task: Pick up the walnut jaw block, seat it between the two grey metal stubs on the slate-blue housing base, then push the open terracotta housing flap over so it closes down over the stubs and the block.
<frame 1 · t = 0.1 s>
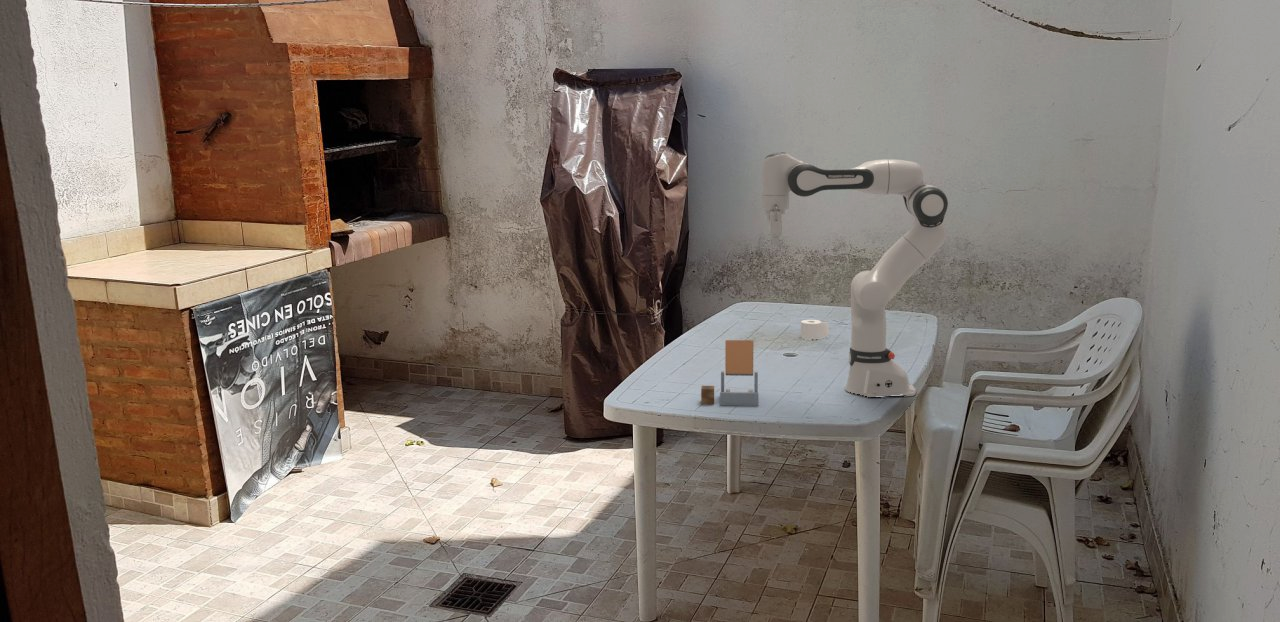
hand: (774, 246, 317), 48 cm above the table, tool pointing down, fingers open, 8 cm apart
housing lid: (739, 357, 317), point 13 cm above the table, hinge at 100.0°
jaw block: (707, 402, 313), on the table
housing base: (739, 400, 314), on the table
toilet paper: (815, 338, 400), on the table
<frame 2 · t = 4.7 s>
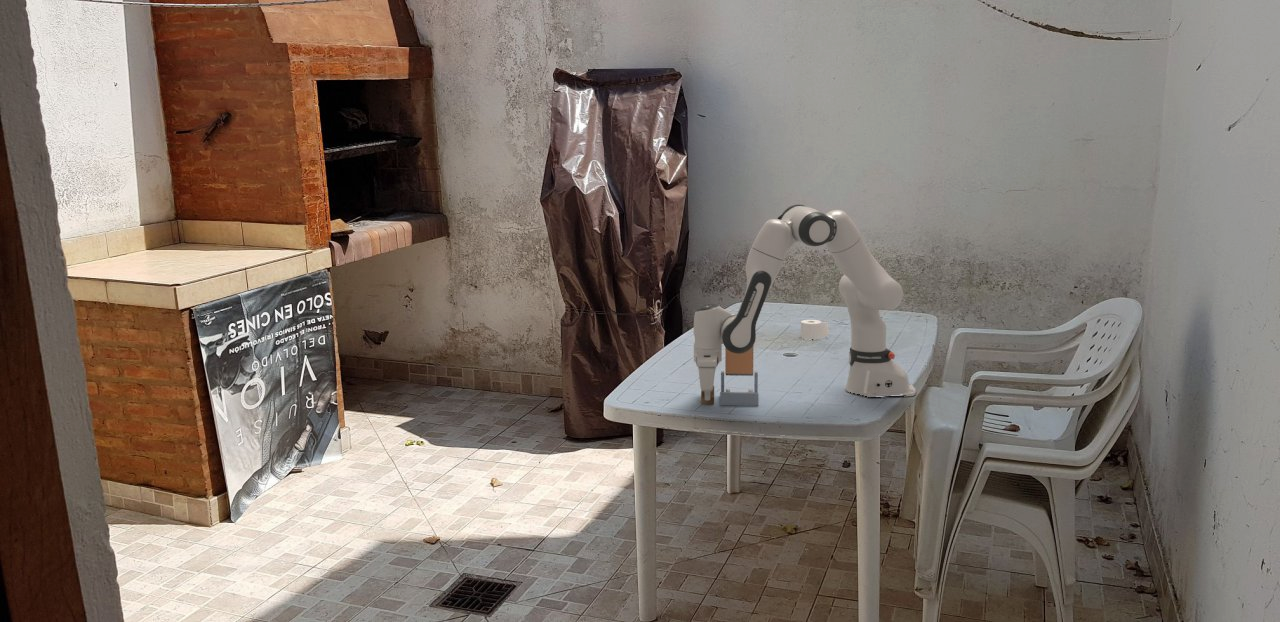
hand: (707, 397, 313), 2 cm above the table, tool pointing down, fingers closed on jaw block, 4 cm apart
jaw block: (707, 402, 313), on the table, touching gripper
everything else where it was.
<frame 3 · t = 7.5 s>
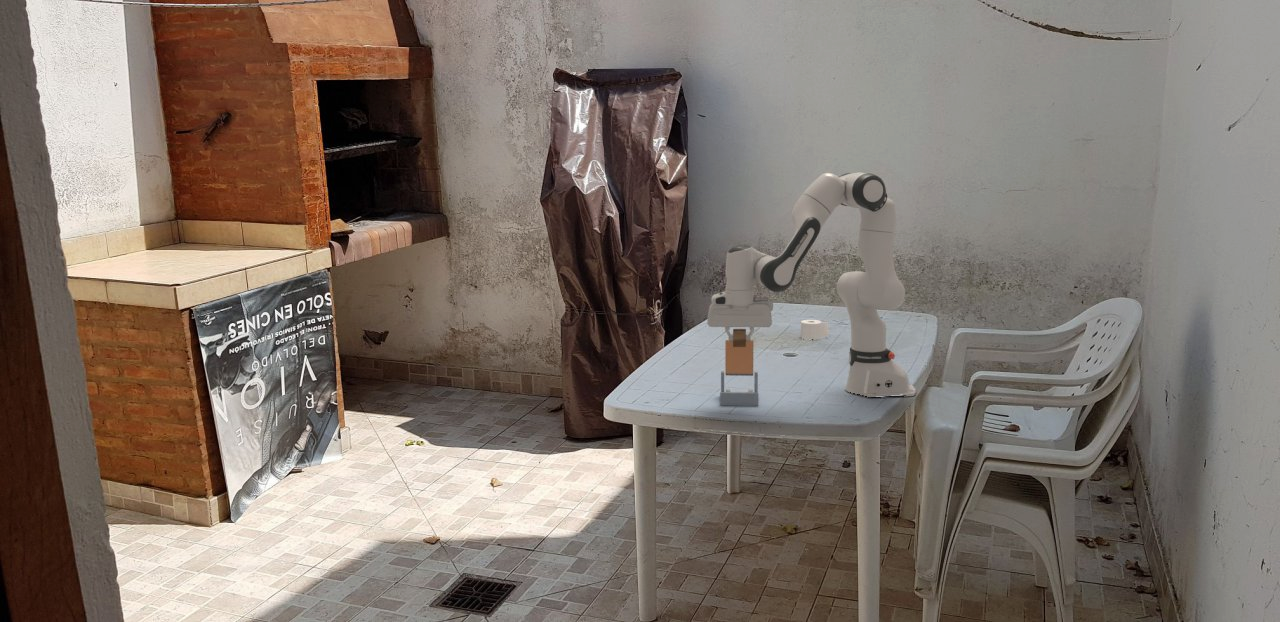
hand: (739, 340, 309), 20 cm above the table, tool pointing down, fingers closed on jaw block, 4 cm apart
jaw block: (739, 345, 309), point 19 cm above the table, touching gripper
everything else where it was.
when the fingers open (5 cm above the table, at t = 10.4 s): jaw block drops 2 cm, resting on housing base.
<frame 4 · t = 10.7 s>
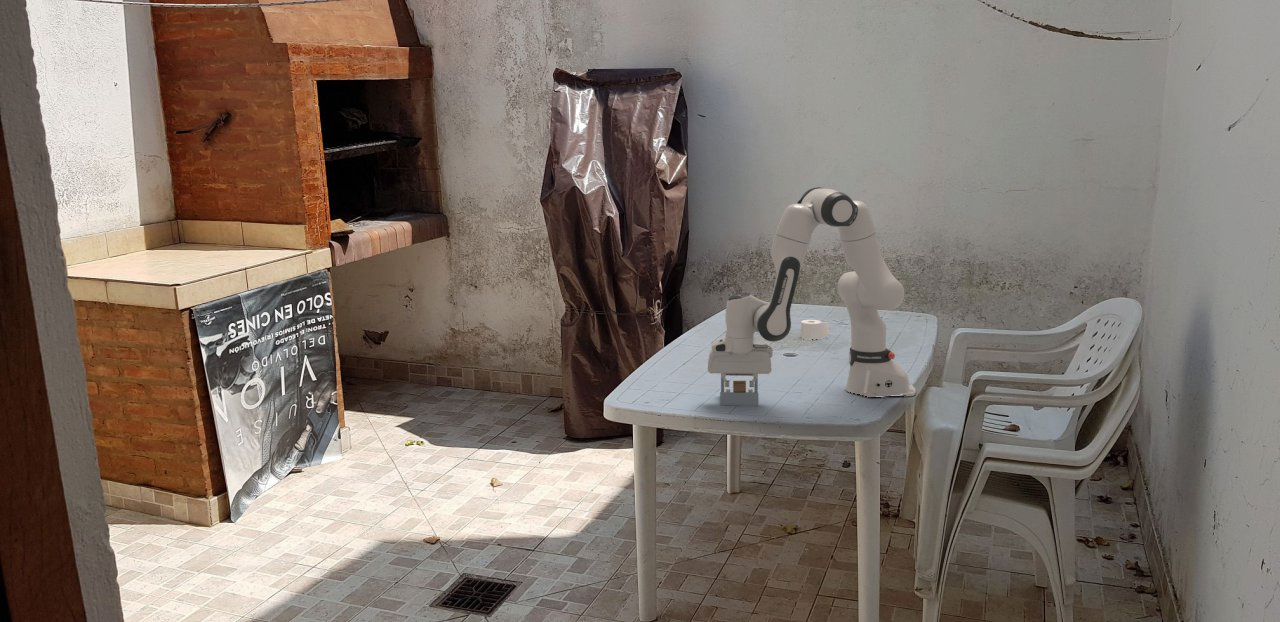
hand: (739, 386, 312), 5 cm above the table, tool pointing down, fingers open, 6 cm apart
jaw block: (739, 397, 313), point 1 cm above the table, touching housing base
everything else where it was.
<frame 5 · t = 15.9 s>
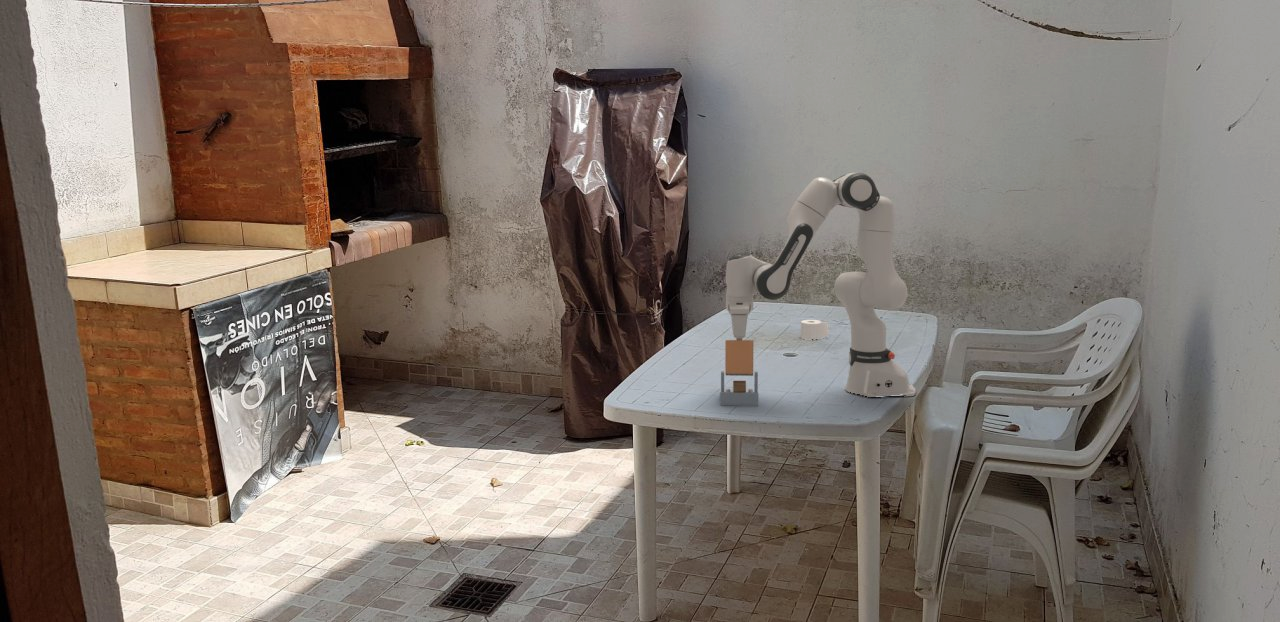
hand: (739, 345, 320), 16 cm above the table, tool pointing down, fingers closed
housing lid: (739, 357, 317), point 13 cm above the table, hinge at 100.0°, touching gripper
everything else where it was.
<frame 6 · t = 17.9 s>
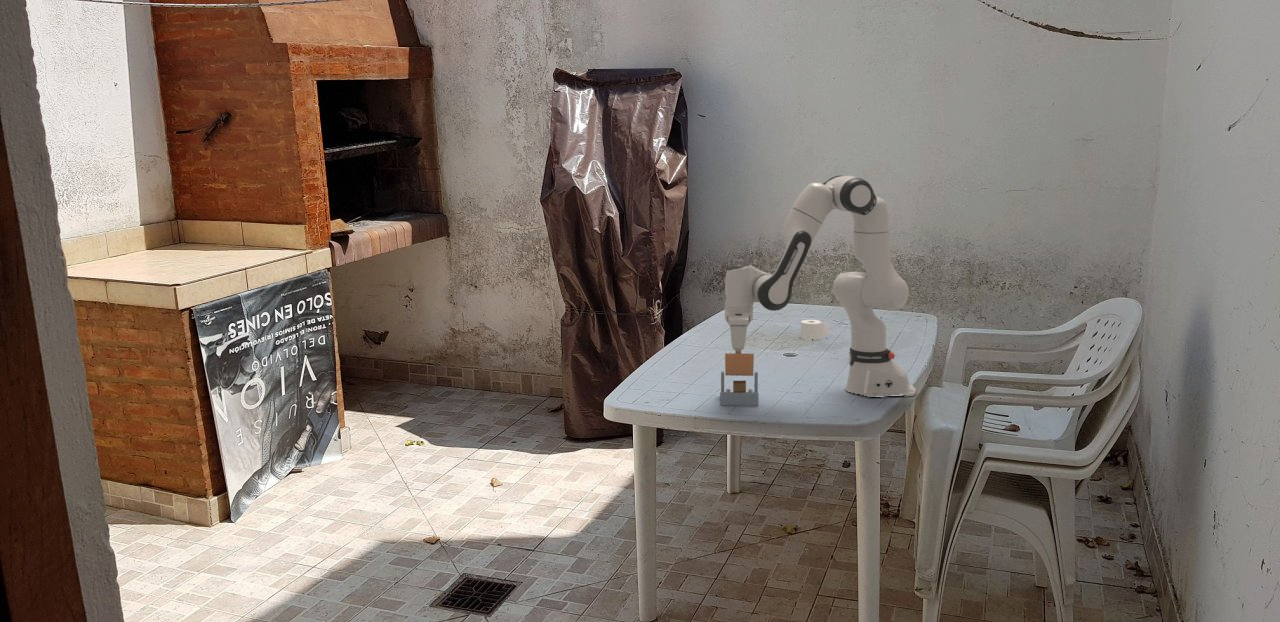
hand: (738, 357, 312), 14 cm above the table, tool pointing down, fingers closed
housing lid: (739, 364, 313), point 11 cm above the table, hinge at 49.1°, touching gripper
everything else where it was.
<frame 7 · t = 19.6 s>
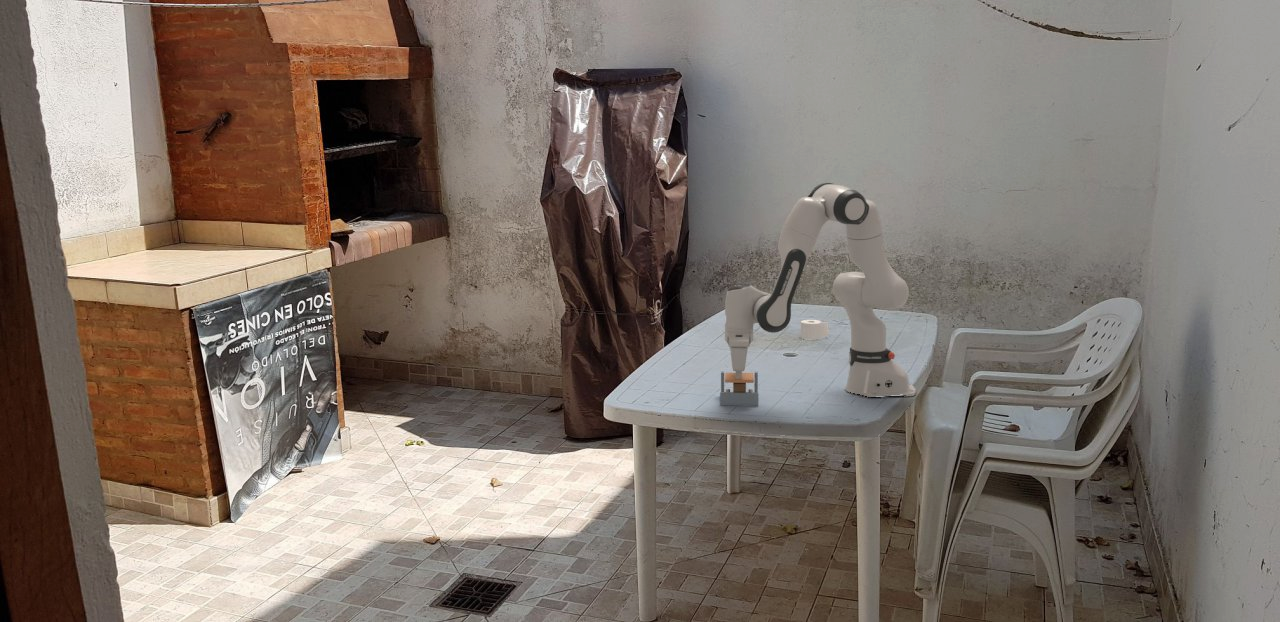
hand: (738, 378, 309), 8 cm above the table, tool pointing down, fingers closed
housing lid: (739, 377, 312), point 8 cm above the table, hinge at 3.1°, touching gripper
everything else where it was.
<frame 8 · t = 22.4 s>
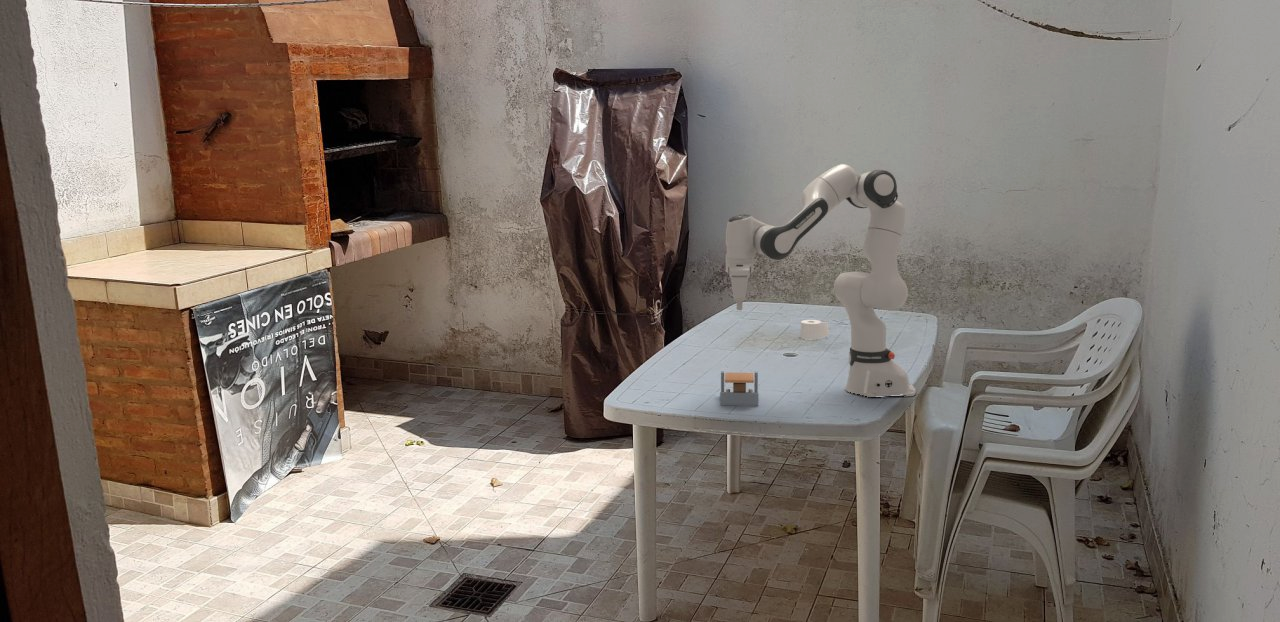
hand: (739, 309, 312), 29 cm above the table, tool pointing down, fingers closed
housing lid: (739, 377, 312), point 8 cm above the table, hinge at 3.0°
everything else where it was.
at the end: jaw block 0.2 cm from the target spot on the housing base, point 1.5 cm above the housing base's base; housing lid at +3° (first picture: +100°); jaw block tilted 0° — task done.
